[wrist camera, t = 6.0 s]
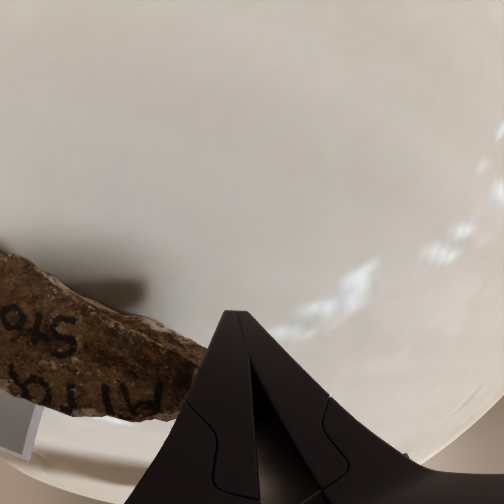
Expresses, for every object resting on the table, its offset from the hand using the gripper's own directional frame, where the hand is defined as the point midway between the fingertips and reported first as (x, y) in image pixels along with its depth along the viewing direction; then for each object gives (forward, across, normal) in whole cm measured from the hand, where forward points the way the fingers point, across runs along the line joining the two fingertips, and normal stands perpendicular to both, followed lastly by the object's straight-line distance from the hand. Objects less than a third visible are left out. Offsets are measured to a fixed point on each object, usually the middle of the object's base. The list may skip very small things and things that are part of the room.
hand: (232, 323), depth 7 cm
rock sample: (+2, +5, +3) cm, 6 cm away
